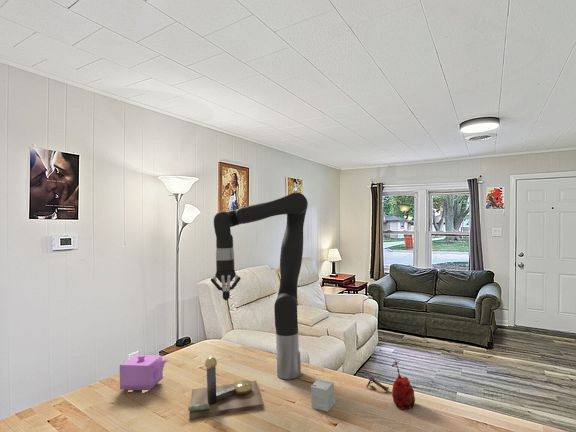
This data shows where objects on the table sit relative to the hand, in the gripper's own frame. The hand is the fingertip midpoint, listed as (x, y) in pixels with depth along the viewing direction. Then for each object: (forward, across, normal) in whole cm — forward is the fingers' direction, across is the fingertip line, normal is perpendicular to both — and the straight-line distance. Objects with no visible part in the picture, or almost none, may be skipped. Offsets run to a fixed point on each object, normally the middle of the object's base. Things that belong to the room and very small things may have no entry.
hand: (226, 299), depth 146 cm
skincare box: (+31, +30, -35) cm, 56 cm away
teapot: (+31, -32, -3) cm, 45 cm away
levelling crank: (+29, -1, -22) cm, 37 cm away
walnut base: (+31, -2, -22) cm, 38 cm away
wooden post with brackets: (+31, +53, -30) cm, 68 cm away
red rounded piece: (+31, +56, -42) cm, 77 cm away
